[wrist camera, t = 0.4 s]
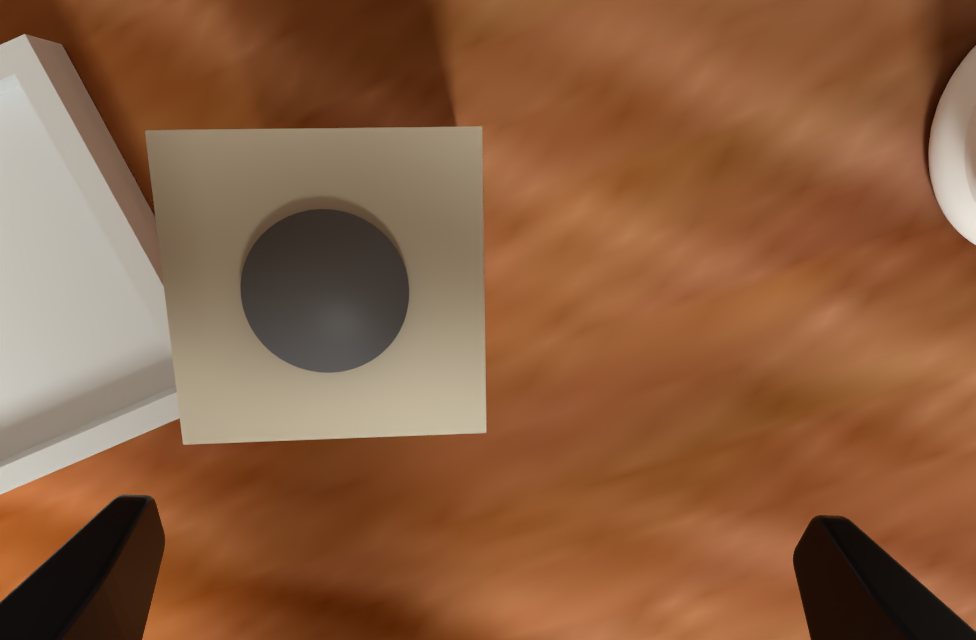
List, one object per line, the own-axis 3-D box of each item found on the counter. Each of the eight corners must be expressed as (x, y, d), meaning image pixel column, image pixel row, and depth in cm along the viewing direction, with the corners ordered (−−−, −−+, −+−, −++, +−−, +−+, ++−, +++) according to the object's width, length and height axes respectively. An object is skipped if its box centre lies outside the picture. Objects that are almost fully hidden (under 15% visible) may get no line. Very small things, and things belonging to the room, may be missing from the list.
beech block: (461, 289, 24) (486, 436, 12) (311, 293, 24) (180, 448, 12) (458, 137, 23) (482, 126, 11) (300, 139, 23) (140, 129, 10)
